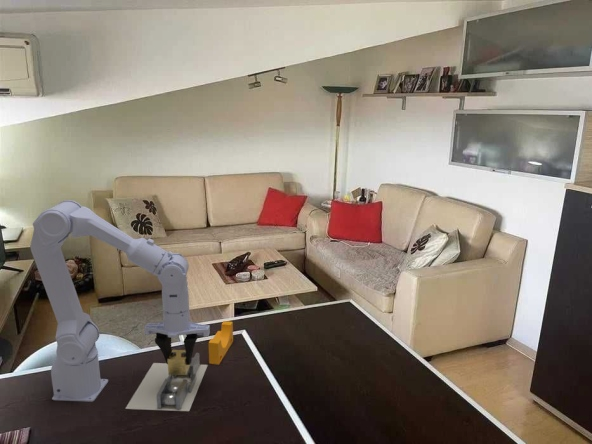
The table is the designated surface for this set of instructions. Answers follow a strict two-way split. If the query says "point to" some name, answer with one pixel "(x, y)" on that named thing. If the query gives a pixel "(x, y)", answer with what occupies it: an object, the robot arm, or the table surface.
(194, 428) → the table surface
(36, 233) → the robot arm
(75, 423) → the table surface
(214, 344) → the pipe clamp
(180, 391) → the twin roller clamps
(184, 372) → the tan knob cube
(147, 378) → the mat
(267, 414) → the table surface
